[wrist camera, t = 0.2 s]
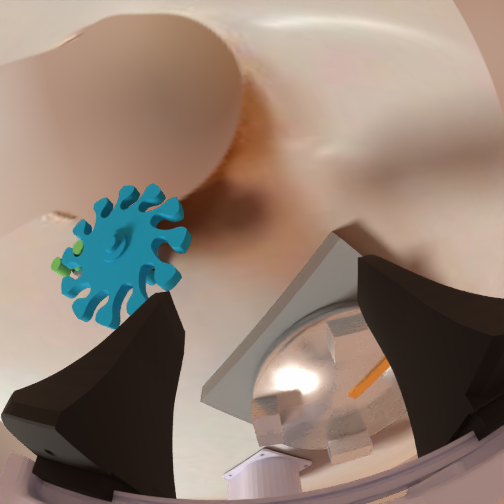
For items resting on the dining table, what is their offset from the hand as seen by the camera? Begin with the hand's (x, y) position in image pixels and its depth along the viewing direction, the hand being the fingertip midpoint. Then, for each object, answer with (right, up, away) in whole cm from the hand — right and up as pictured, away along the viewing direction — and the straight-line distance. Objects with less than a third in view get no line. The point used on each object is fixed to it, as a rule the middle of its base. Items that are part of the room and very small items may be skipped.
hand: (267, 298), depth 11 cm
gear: (-10, +3, +10) cm, 14 cm away
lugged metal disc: (+7, -9, +12) cm, 17 cm away
